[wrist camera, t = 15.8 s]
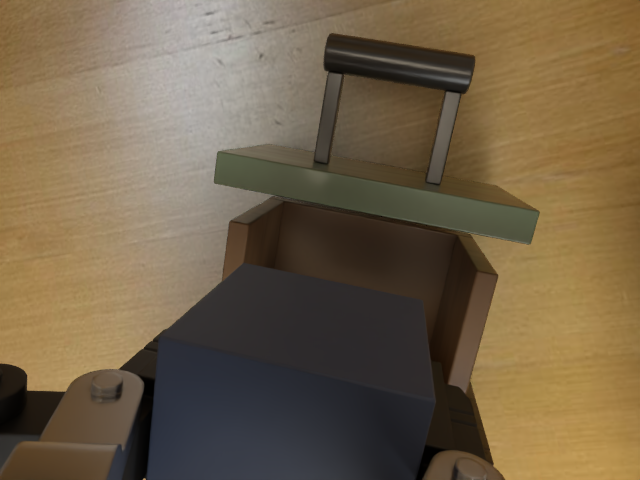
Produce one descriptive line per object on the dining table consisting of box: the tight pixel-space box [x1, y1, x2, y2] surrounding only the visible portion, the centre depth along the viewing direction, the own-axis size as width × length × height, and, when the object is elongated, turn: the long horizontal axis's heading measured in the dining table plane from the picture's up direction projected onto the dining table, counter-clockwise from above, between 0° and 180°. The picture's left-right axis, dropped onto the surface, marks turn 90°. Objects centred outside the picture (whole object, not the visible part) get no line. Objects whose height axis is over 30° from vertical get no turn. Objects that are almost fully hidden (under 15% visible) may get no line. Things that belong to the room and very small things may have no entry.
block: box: [146, 263, 436, 480], centre depth 11 cm, size 5×5×5 cm
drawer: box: [214, 33, 539, 394], centre depth 22 cm, size 18×11×7 cm, turn 170°
